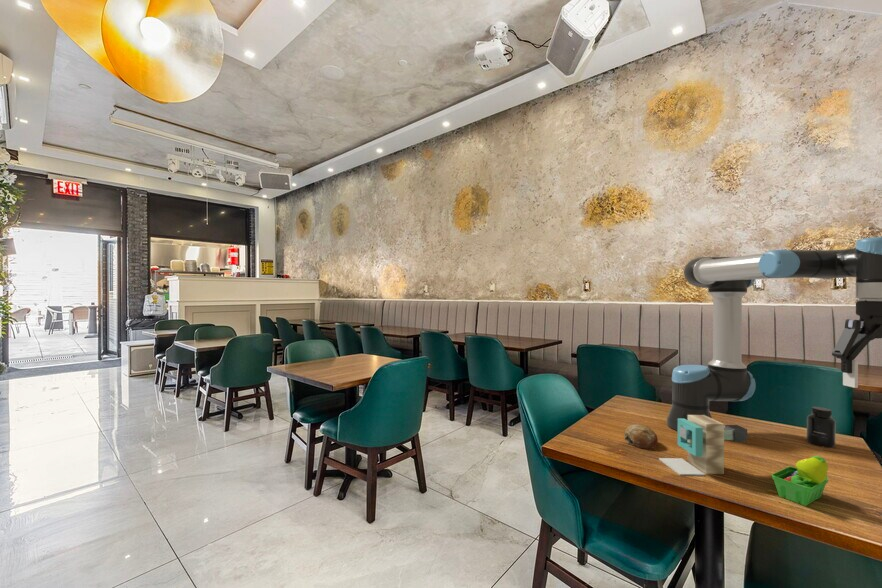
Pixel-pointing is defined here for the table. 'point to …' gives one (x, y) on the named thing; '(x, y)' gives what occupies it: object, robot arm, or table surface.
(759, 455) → the table surface
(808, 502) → the fruit basket
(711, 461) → the light wood tall block
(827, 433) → the supplement bottle
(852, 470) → the table surface
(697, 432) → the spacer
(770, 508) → the table surface
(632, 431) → the brown rounded lump
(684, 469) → the mat
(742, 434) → the shaft
